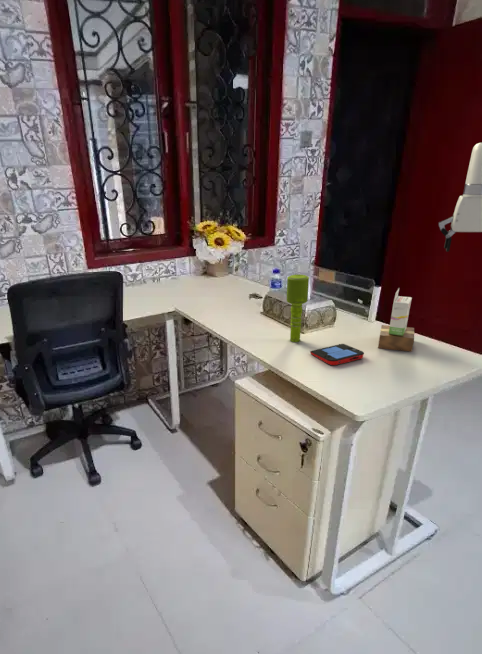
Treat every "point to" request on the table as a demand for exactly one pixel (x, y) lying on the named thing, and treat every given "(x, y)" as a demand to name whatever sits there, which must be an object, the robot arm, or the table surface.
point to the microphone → (296, 302)
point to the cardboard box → (396, 339)
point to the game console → (338, 354)
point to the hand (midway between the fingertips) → (465, 251)
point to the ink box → (399, 314)
